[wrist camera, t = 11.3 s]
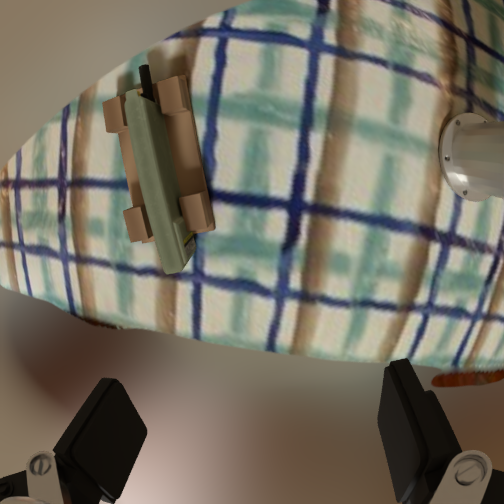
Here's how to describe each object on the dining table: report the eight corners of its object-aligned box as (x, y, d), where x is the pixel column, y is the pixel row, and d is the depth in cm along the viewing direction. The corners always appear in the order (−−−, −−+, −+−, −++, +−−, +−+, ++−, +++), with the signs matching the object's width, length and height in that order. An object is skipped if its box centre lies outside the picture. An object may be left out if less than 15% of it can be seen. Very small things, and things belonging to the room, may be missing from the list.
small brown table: (185, 76, 32) (176, 68, 28) (215, 228, 38) (209, 236, 34) (116, 99, 33) (101, 95, 30) (145, 241, 39) (133, 250, 35)
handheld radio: (175, 256, 38) (134, 72, 31) (199, 251, 38) (158, 64, 31) (160, 275, 32) (112, 59, 25) (187, 270, 32) (139, 48, 24)
